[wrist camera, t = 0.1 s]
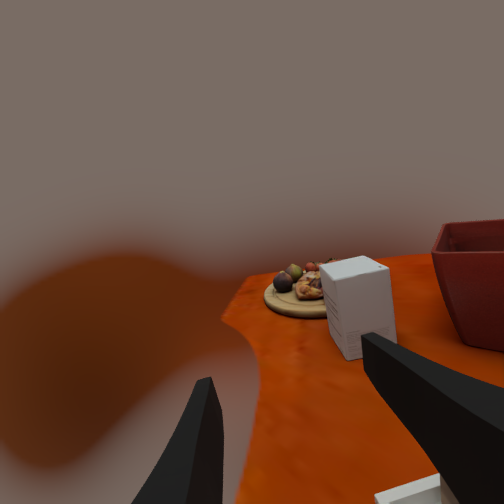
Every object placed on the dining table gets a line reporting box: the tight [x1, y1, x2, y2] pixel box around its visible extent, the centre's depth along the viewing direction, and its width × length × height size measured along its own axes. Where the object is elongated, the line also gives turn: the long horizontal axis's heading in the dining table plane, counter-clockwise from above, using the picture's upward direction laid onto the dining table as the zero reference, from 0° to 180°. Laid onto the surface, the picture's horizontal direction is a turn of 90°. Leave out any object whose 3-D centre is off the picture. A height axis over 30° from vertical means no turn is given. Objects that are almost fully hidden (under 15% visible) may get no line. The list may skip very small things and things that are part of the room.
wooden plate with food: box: [264, 258, 341, 318], centre depth 70 cm, size 32×32×8 cm
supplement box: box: [319, 256, 397, 361], centre depth 44 cm, size 9×9×15 cm
